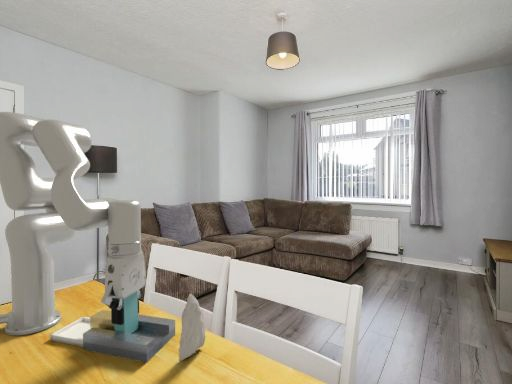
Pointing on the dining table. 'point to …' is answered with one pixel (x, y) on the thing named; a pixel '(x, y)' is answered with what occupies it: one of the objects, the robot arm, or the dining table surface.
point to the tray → (72, 332)
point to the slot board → (134, 355)
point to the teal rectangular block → (129, 314)
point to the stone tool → (191, 328)
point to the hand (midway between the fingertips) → (125, 317)
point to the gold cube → (108, 323)
